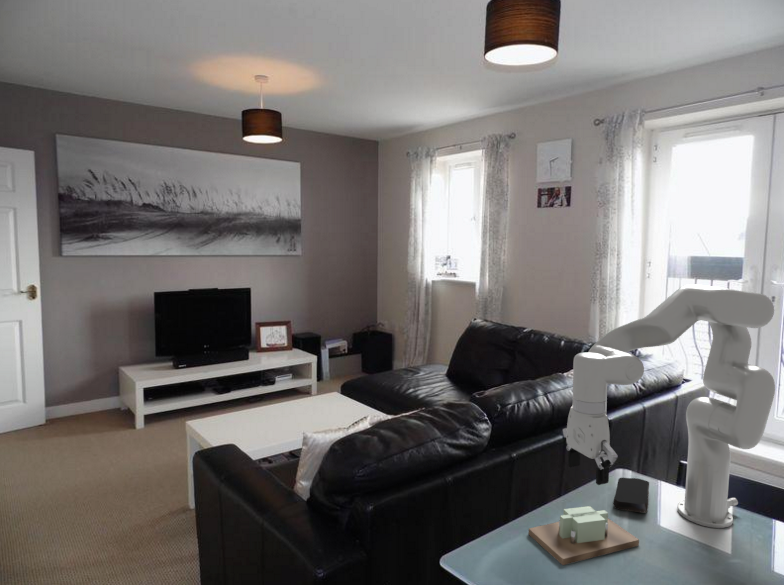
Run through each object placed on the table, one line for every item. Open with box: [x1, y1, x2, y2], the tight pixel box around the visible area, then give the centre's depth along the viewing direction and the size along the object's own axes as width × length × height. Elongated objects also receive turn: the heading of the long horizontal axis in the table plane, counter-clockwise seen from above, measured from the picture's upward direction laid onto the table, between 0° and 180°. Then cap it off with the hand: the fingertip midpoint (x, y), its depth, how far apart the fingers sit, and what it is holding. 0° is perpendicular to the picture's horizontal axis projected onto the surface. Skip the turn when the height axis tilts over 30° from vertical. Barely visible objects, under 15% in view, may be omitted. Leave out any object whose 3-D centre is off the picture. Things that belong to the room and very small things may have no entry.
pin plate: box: [527, 517, 640, 566], centre depth 127 cm, size 22×13×4 cm, turn 110°
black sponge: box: [612, 477, 650, 514], centre depth 146 cm, size 16×8×4 cm, turn 152°
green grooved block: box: [559, 505, 609, 543], centre depth 126 cm, size 12×6×5 cm, turn 102°
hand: (587, 474), depth 125 cm, fingers open, 9 cm apart
